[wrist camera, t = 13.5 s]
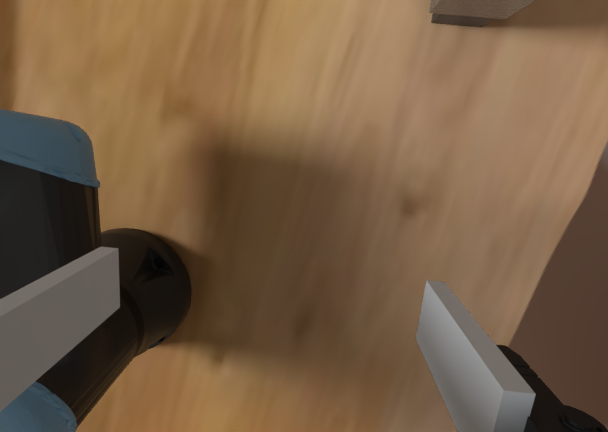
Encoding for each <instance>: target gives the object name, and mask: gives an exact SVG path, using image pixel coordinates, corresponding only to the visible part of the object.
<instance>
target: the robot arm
mask: <svg viewBox="0 0 608 432" xmlns="http://www.w3.org/2000/svg"><path fill="white" fill-rule="evenodd" d="M98 187H99V188H100V182H99V181H98V180H97V176H96V168H95V161H94V154H93V146H92V142H91V140H90V138H89V136H88V135H87V133H86V132H85V131H84V130H83V129H81V128H80V127H79V126H77V125H75V124H73V123H71V122H68V121H63V120H59V119H54V118H49V117H43V116H38V115H32V114H27V113H21V112H15V111H9V110H3V109H0V432H76V431H75V430H76V429H77V427H78V426H79V425H80V423H81V422H82V421H83V420H84V418H85V417H86V416H87V415H88V413H89V412H90V411H91V410H92V408H93V407H94V406H95V405H96V404H97V402H98V401H99V400H100V399H101V397H102V396H103V395H104V394H105V392H106V391H107V390H108V389H109V387H110V386H111V385H112V384H113V382H114V381H115V380H116V379H117V378H118V376H119V375H120V374H121V373H122V372H123V370H124V369H125V368H126V367H127V365H128V364H129V363H130V362H131V361H132V359H133V358H134V357H136V356H138V355H140V354H142V353H143V352H145V351H147V350H148V349H150V348H153V347H155V346H157V345H159V344H160V343H162V342H163V341H165V340H166V339H167V338H168V337H170V336H171V335H172V334H173V333H174V331H175V330H176V329H177V327H178V326H179V325H180V323H181V322H182V321H183V319H184V318H185V316H186V314H187V311H188V309H189V305H190V300H191V285H190V280H189V276H188V273H187V271H186V268H185V266H184V264H183V263H182V261H181V259H180V258H179V257H178V255H177V254H176V253H175V252H174V251H173V250H172V249H171V248H170V247H169V246H168V245H167V244H166V243H164V242H163V241H162V240H160V239H158V238H157V237H155V236H153V235H151V234H149V233H146V232H143V231H139V230H135V229H126V228H120V229H112V230H107V231H104V232H102V233H101V229H100V215H99V202H98ZM416 341H417V343H418V345H419V347H420V349H421V352H422V354H423V356H424V358H425V360H426V363H427V365H428V367H429V369H430V372H431V374H432V376H433V378H434V380H435V383H436V385H437V387H438V389H439V391H440V394H441V396H442V398H443V400H444V403H445V405H446V407H447V409H448V411H449V414H450V416H451V418H452V420H453V422H454V425H455V427H456V429H457V431H458V432H608V430H607V429H606V428H605V426H604V425H602V424H601V423H600V422H599V421H597V420H596V419H595V418H593V417H592V416H590V415H588V414H586V413H585V412H583V411H581V410H578V409H576V408H573V407H570V406H566V405H563V404H562V403H561V402H560V400H559V399H558V398H557V397H556V396H555V395H554V394H553V392H552V391H551V390H550V389H549V388H548V387H547V386H546V385H545V383H544V382H543V381H542V380H541V379H540V378H538V375H537V374H536V373H535V372H534V371H533V370H532V369H530V367H529V365H528V364H527V363H526V362H525V361H524V360H523V359H522V357H521V356H520V355H518V354H517V353H515V352H514V351H512V350H511V349H510V348H508V347H507V346H503V345H496V344H495V343H494V342H493V341H492V340H491V338H490V337H489V336H488V335H487V333H486V332H485V331H484V330H483V328H482V327H481V326H480V325H479V324H478V322H477V321H476V320H475V319H474V317H473V316H472V315H471V314H470V312H469V311H468V310H467V309H466V308H465V306H464V305H463V304H462V303H461V301H460V300H459V299H458V298H457V296H456V295H455V294H454V293H453V292H452V290H451V289H450V288H449V287H448V285H447V284H446V283H445V282H438V281H429V280H426V285H425V291H424V296H423V302H422V307H421V313H420V318H419V324H418V329H417V335H416Z"/></svg>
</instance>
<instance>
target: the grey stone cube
mask: <svg viewBox="0 0 608 432" xmlns="http://www.w3.org/2000/svg"><path fill="white" fill-rule="evenodd" d="M534 1H535V0H431V3H430V10H429V13H437V14H449V15H460V16H472V17H484V18H495V19H506V18H508V17H509V16H511V15H513V14H514V13H516V12H517V11H519V10H521V9H522V8H524V7H526V6H527V5H529V4H531V3H532V2H534Z"/></svg>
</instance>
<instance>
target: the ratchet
mask: <svg viewBox="0 0 608 432" xmlns="http://www.w3.org/2000/svg"><path fill="white" fill-rule="evenodd" d="M493 19H494V18H484V17H472V16H460V15H449V14H437V13H433V15H432V21H431V23H440V24H451V25H463V26H475V27H482V26H483V25H485V24H486V23H488V22H489V21H491V20H493Z"/></svg>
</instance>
